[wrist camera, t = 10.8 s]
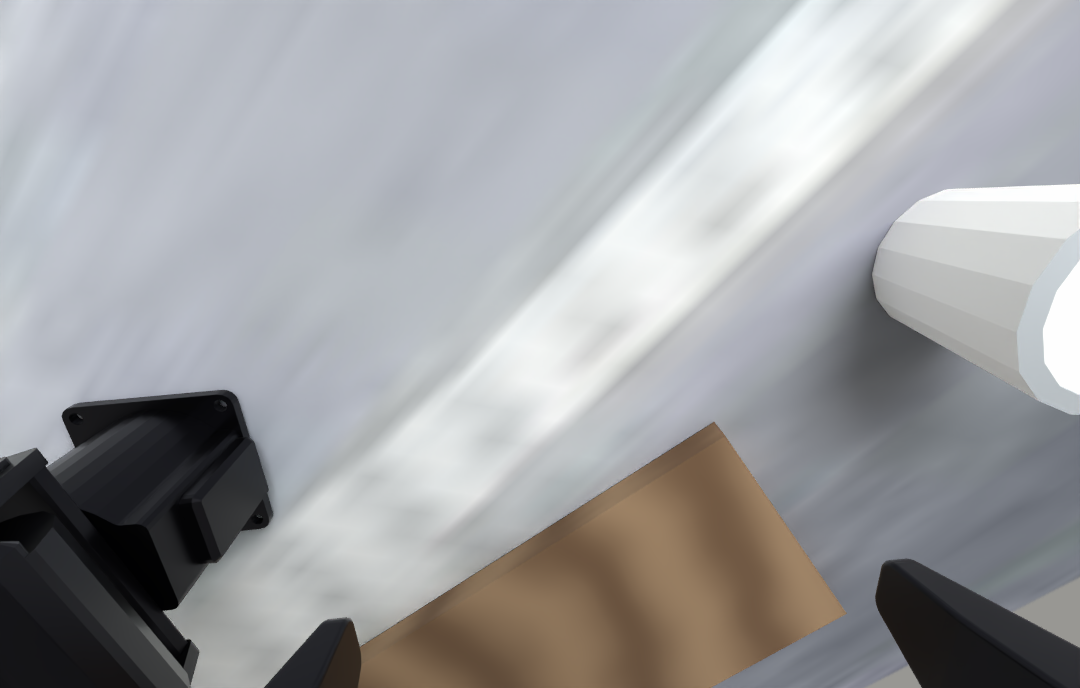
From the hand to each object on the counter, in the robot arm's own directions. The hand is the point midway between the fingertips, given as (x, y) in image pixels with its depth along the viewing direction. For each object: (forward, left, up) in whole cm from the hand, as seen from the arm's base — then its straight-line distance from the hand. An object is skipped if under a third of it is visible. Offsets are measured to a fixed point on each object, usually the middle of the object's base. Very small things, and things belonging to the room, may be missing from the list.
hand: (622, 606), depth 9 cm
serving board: (-4, -19, -13) cm, 23 cm away
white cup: (+16, +2, -13) cm, 21 cm away
